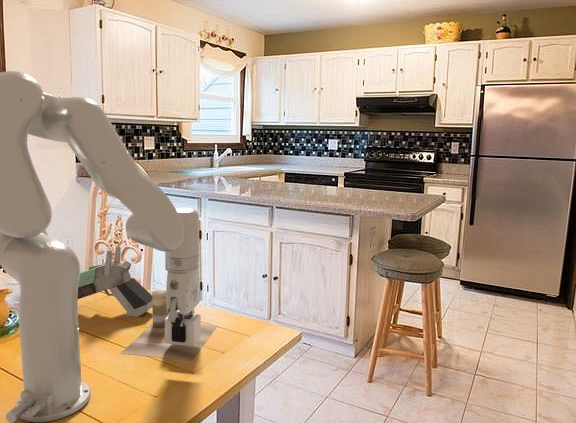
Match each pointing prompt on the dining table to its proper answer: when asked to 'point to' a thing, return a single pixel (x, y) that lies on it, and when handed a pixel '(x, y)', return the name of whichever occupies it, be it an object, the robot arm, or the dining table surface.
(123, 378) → the dining table surface
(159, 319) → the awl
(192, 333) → the white rectangular block
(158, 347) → the board
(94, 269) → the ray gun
